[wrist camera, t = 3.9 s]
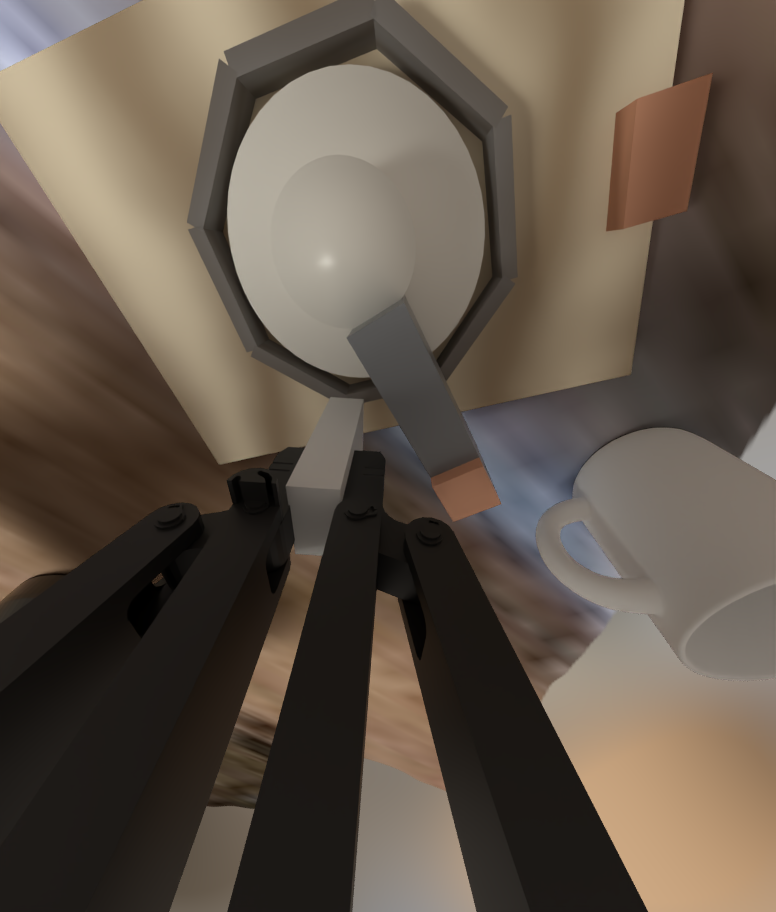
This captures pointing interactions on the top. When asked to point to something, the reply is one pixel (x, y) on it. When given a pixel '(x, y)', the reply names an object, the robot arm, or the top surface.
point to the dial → (367, 249)
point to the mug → (678, 547)
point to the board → (465, 104)
